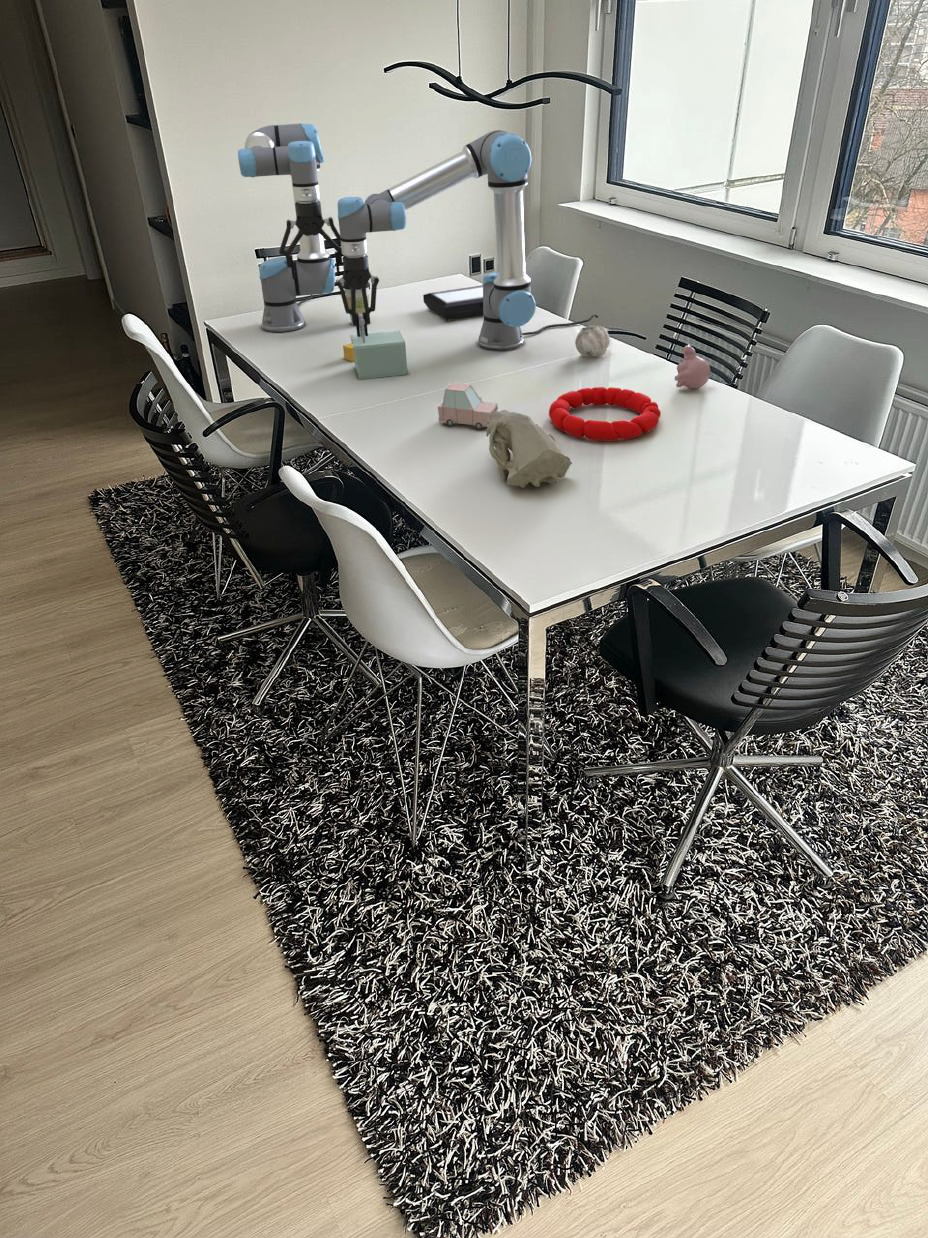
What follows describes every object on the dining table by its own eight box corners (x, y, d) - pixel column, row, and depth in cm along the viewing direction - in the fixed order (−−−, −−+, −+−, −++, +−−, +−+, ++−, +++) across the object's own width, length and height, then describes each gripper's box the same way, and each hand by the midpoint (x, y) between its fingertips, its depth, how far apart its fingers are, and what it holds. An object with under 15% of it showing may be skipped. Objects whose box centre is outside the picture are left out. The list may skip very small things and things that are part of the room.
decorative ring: (589, 435, 224) (684, 402, 234) (527, 398, 247) (617, 369, 256) (589, 461, 229) (683, 427, 238) (529, 422, 251) (617, 393, 260)
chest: (359, 379, 278) (356, 349, 272) (355, 367, 287) (352, 338, 282) (407, 374, 280) (405, 344, 275) (402, 362, 290) (399, 333, 284)
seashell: (565, 355, 290) (566, 324, 284) (602, 347, 296) (604, 317, 290) (583, 364, 283) (584, 332, 277) (621, 355, 288) (623, 324, 283)
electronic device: (443, 305, 321) (423, 292, 336) (444, 322, 324) (424, 309, 339) (522, 293, 331) (499, 281, 346) (522, 310, 334) (499, 297, 350)
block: (351, 361, 292) (350, 348, 289) (344, 358, 295) (342, 345, 292) (362, 358, 294) (361, 345, 292) (355, 355, 297) (354, 342, 294)
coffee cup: (372, 326, 323) (368, 283, 314) (345, 327, 323) (340, 284, 315) (374, 318, 331) (371, 276, 322) (348, 319, 331) (344, 277, 323)
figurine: (665, 387, 264) (669, 347, 257) (693, 380, 268) (698, 340, 261) (686, 396, 257) (690, 355, 250) (714, 388, 262) (720, 348, 255)
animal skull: (496, 517, 219) (521, 479, 201) (463, 429, 225) (484, 384, 207) (557, 503, 225) (586, 465, 206) (523, 417, 231) (549, 373, 212)
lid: (354, 349, 272) (351, 323, 268) (350, 338, 282) (347, 312, 277) (405, 344, 275) (403, 318, 270) (399, 333, 284) (398, 307, 280)
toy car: (488, 432, 240) (488, 396, 234) (436, 426, 244) (434, 390, 239) (499, 419, 247) (499, 384, 241) (448, 413, 252) (447, 379, 246)
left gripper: (264, 205, 256) (275, 282, 268) (350, 200, 259) (357, 276, 271) (264, 201, 262) (275, 276, 274) (349, 196, 265) (356, 270, 277)
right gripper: (331, 259, 259) (339, 340, 272) (381, 255, 261) (387, 336, 274) (328, 254, 265) (337, 333, 278) (378, 250, 267) (384, 329, 280)
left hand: (316, 276), depth 273 cm, fingers open, 13 cm apart
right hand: (362, 334), depth 276 cm, fingers closed on lid, 2 cm apart
